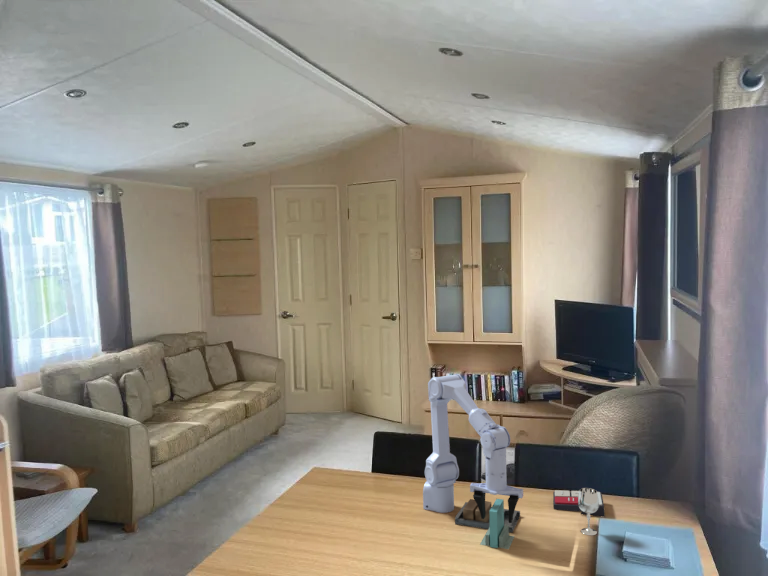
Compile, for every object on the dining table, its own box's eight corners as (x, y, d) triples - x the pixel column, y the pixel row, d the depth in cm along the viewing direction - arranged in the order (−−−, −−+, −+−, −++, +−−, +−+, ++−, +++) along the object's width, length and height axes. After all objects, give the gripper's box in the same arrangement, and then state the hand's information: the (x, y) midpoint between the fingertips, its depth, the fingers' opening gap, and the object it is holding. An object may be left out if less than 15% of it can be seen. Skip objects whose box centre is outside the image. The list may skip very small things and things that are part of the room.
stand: (479, 547, 165) (479, 533, 165) (486, 535, 173) (486, 521, 173) (508, 552, 162) (508, 538, 162) (514, 539, 170) (514, 525, 169)
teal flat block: (490, 547, 164) (489, 511, 163) (497, 532, 172) (496, 498, 172) (497, 548, 163) (496, 512, 162) (504, 533, 171) (503, 499, 171)
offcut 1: (463, 522, 180) (463, 509, 179) (470, 511, 187) (470, 499, 187) (473, 523, 178) (472, 510, 178) (479, 512, 186) (479, 500, 186)
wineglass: (599, 528, 175) (598, 488, 174) (599, 537, 169) (599, 495, 169) (578, 526, 177) (577, 486, 176) (578, 535, 171) (577, 493, 171)
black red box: (553, 488, 197) (601, 490, 193) (553, 501, 197) (602, 503, 193) (553, 502, 187) (604, 503, 183) (554, 515, 187) (605, 517, 183)
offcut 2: (475, 524, 178) (475, 510, 178) (482, 513, 185) (481, 500, 185) (485, 525, 177) (485, 512, 177) (491, 514, 184) (491, 501, 184)
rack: (455, 527, 179) (454, 517, 178) (466, 511, 190) (465, 502, 189) (512, 536, 172) (512, 525, 172) (520, 519, 183) (520, 509, 183)
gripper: (466, 473, 166) (467, 521, 166) (519, 479, 160) (520, 529, 161) (473, 465, 172) (474, 511, 173) (524, 470, 167) (525, 518, 167)
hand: (496, 519), depth 167 cm, fingers open, 7 cm apart
